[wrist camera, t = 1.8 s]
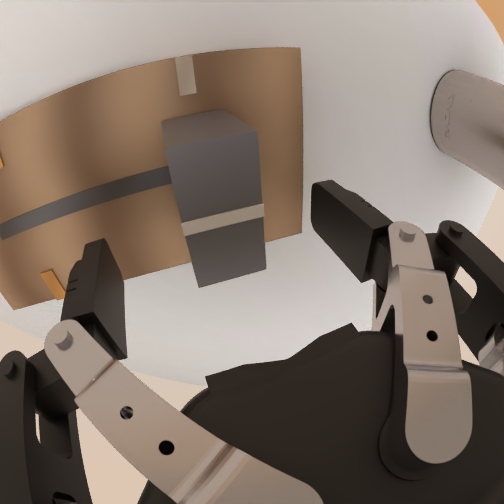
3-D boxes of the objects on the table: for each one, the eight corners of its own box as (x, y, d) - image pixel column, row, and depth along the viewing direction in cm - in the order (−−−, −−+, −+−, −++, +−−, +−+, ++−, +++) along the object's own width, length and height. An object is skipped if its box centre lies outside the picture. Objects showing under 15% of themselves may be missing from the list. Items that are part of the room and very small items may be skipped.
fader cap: (223, 109, 12) (259, 131, 9) (235, 213, 16) (267, 270, 12) (160, 121, 12) (164, 150, 8) (183, 226, 16) (199, 289, 12)
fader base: (280, 48, 14) (302, 47, 12) (286, 214, 21) (302, 234, 19) (-44, 152, 9) (-65, 167, 7) (21, 287, 17) (13, 312, 15)
